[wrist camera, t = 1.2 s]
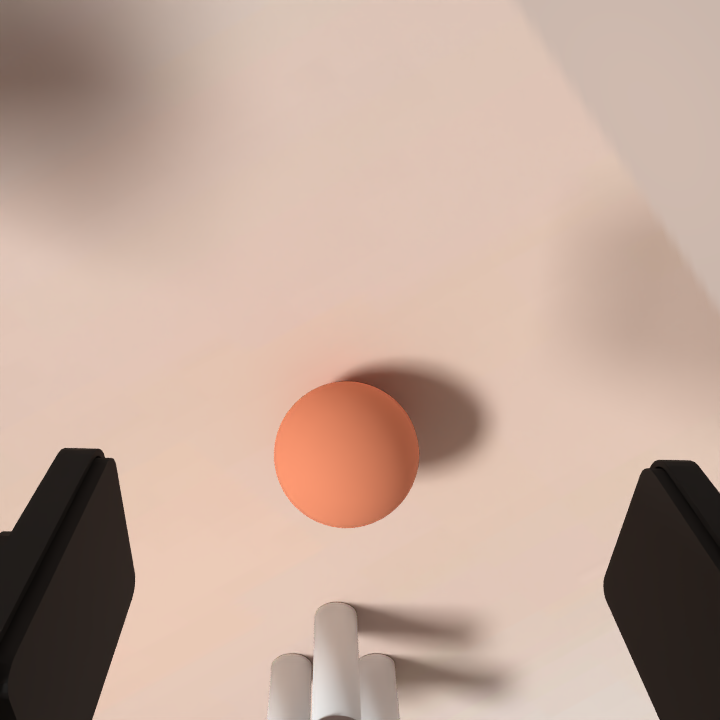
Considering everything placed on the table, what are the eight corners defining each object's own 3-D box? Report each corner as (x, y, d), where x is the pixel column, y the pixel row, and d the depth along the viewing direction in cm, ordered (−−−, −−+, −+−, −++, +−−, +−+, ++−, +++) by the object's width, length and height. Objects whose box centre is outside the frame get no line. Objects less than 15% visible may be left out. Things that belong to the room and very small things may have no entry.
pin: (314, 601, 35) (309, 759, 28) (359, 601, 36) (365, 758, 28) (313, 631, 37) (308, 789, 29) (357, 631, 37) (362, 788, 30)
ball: (278, 353, 28) (266, 437, 22) (416, 357, 28) (436, 440, 23) (280, 462, 30) (269, 559, 25) (405, 464, 31) (419, 560, 26)
